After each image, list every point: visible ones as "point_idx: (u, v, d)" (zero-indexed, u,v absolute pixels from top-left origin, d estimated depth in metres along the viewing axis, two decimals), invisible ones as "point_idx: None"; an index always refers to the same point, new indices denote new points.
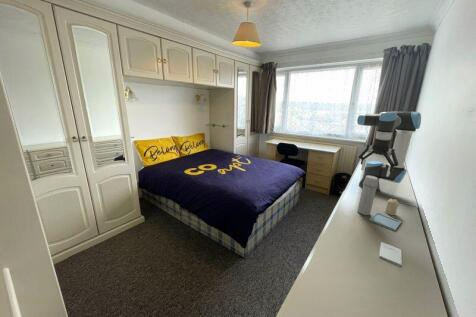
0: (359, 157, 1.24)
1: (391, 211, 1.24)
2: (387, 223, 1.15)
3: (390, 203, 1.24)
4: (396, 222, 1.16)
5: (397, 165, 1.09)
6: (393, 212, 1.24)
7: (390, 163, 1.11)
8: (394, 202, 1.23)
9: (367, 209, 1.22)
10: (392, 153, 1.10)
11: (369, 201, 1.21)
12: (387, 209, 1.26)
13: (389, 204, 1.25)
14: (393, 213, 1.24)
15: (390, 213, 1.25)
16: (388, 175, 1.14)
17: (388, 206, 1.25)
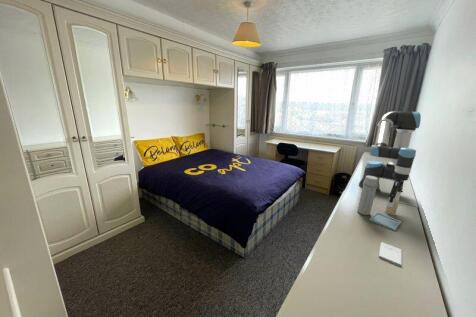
0: None
1: (391, 211, 1.24)
2: (387, 223, 1.15)
3: None
4: (396, 222, 1.16)
5: (389, 196, 1.17)
6: (393, 212, 1.24)
7: None
8: (394, 202, 1.23)
9: (367, 209, 1.22)
10: (393, 185, 1.18)
11: (369, 201, 1.21)
12: (387, 209, 1.26)
13: None
14: (393, 213, 1.24)
15: (390, 213, 1.25)
16: (389, 205, 1.21)
17: (388, 206, 1.25)
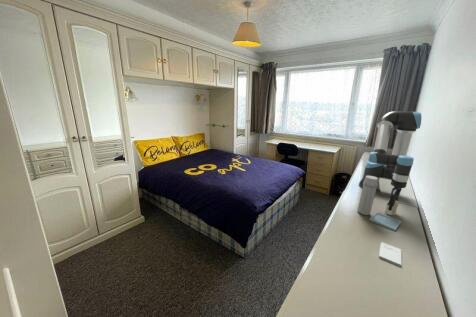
0: None
1: None
2: (387, 223, 1.15)
3: None
4: (396, 222, 1.16)
5: (388, 204, 1.22)
6: (393, 212, 1.24)
7: None
8: None
9: (367, 209, 1.22)
10: (391, 194, 1.21)
11: (369, 201, 1.21)
12: None
13: None
14: (393, 213, 1.24)
15: None
16: (388, 213, 1.25)
17: None
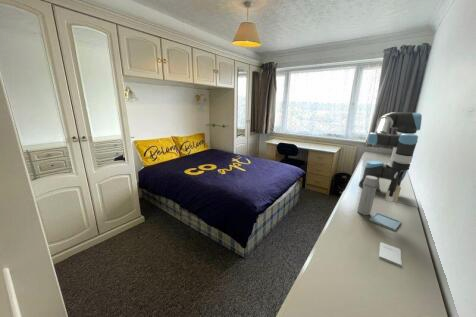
0: None
1: None
2: (387, 223, 1.15)
3: None
4: (396, 222, 1.16)
5: (389, 190, 1.08)
6: (394, 198, 1.10)
7: None
8: (396, 187, 1.09)
9: (367, 209, 1.22)
10: (392, 177, 1.06)
11: (369, 201, 1.21)
12: None
13: None
14: (394, 200, 1.10)
15: None
16: (389, 200, 1.11)
17: None
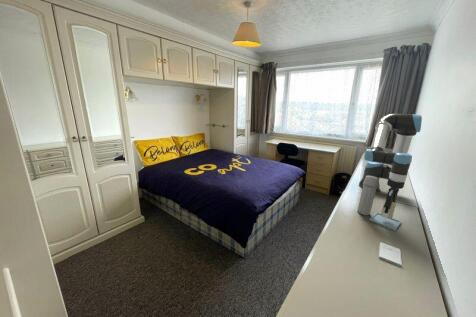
0: None
1: None
2: (387, 223, 1.15)
3: None
4: (396, 222, 1.16)
5: None
6: (390, 215, 1.13)
7: None
8: (391, 204, 1.12)
9: (367, 209, 1.22)
10: (387, 195, 1.09)
11: (369, 201, 1.21)
12: None
13: None
14: (390, 216, 1.13)
15: None
16: (384, 216, 1.14)
17: None
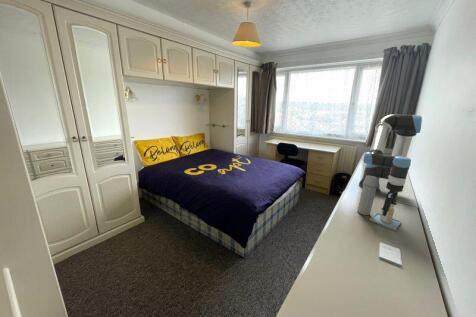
0: None
1: None
2: (387, 223, 1.15)
3: None
4: (396, 222, 1.16)
5: (382, 209, 1.09)
6: (388, 220, 1.14)
7: None
8: (389, 209, 1.13)
9: (367, 209, 1.22)
10: None
11: (369, 201, 1.21)
12: None
13: None
14: (388, 221, 1.14)
15: (385, 221, 1.15)
16: (382, 219, 1.13)
17: None
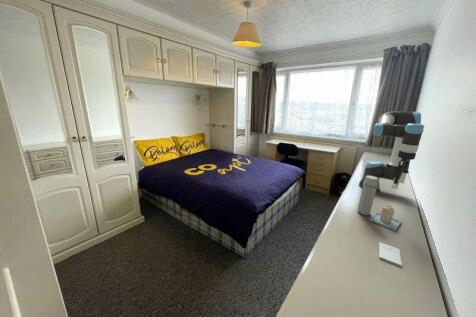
0: None
1: (386, 219, 1.14)
2: (387, 223, 1.15)
3: (385, 210, 1.14)
4: (396, 222, 1.16)
5: (394, 176, 1.08)
6: (388, 220, 1.14)
7: (395, 174, 1.10)
8: (389, 209, 1.13)
9: (367, 209, 1.22)
10: (398, 165, 1.08)
11: (369, 201, 1.21)
12: (382, 217, 1.16)
13: (384, 211, 1.15)
14: (388, 221, 1.14)
15: (385, 221, 1.15)
16: (393, 187, 1.11)
17: (383, 213, 1.15)
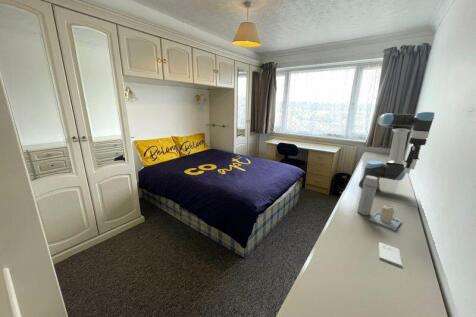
0: None
1: (386, 219, 1.14)
2: (387, 223, 1.15)
3: (385, 210, 1.14)
4: (396, 222, 1.16)
5: (406, 161, 1.15)
6: (388, 220, 1.14)
7: (407, 159, 1.17)
8: (389, 209, 1.13)
9: (367, 209, 1.22)
10: (410, 150, 1.16)
11: (369, 201, 1.21)
12: (382, 217, 1.16)
13: (384, 211, 1.15)
14: (388, 221, 1.14)
15: (385, 221, 1.15)
16: (405, 171, 1.18)
17: (383, 213, 1.15)
